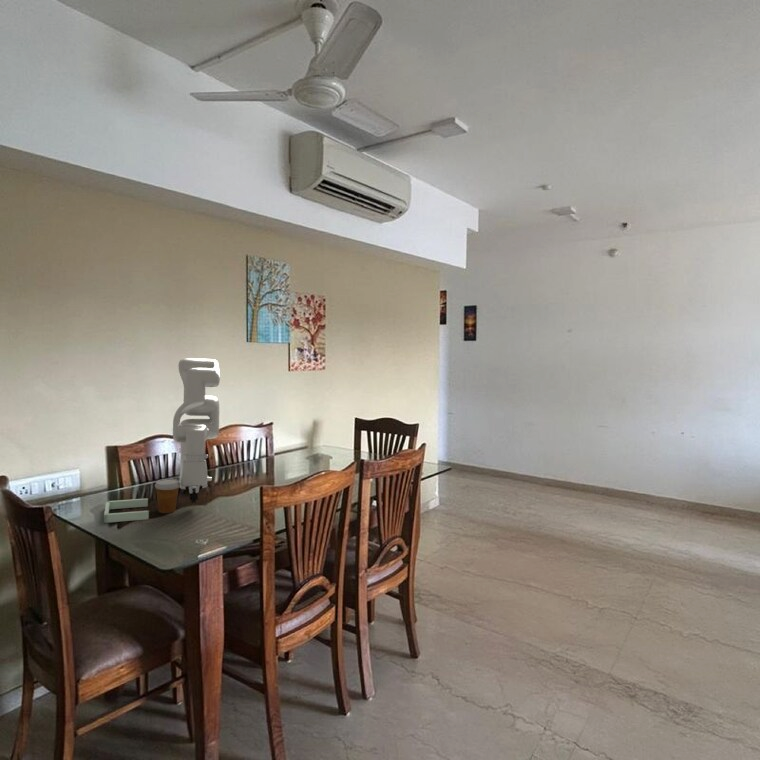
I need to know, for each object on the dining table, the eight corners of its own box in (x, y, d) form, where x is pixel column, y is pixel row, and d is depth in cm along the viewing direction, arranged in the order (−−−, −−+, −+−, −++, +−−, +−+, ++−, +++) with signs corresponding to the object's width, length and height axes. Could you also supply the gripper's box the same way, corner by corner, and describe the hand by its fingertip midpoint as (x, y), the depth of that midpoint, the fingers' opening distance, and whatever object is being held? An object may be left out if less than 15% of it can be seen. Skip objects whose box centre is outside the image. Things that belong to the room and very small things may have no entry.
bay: (147, 505, 216) (147, 498, 215) (148, 519, 201) (148, 511, 201) (106, 508, 209) (106, 501, 209) (103, 522, 194) (104, 515, 194)
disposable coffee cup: (151, 514, 206) (152, 485, 205) (157, 506, 215) (157, 478, 214) (177, 514, 208) (178, 485, 206) (181, 506, 217) (182, 478, 216)
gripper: (212, 455, 220) (211, 498, 221) (174, 456, 214) (173, 500, 215) (214, 459, 213) (213, 503, 214) (175, 460, 207) (174, 506, 208)
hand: (193, 501), depth 215 cm, fingers closed
